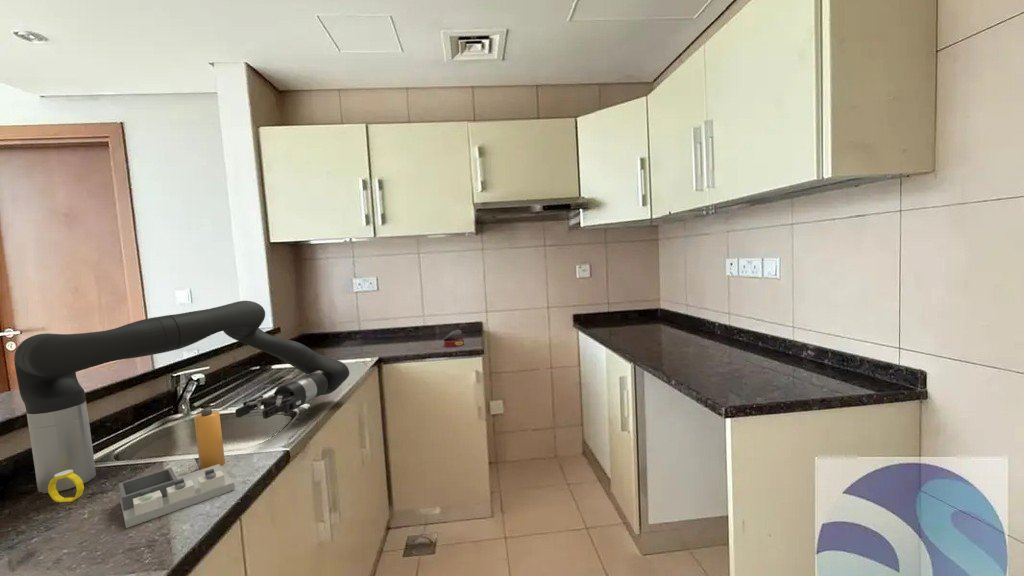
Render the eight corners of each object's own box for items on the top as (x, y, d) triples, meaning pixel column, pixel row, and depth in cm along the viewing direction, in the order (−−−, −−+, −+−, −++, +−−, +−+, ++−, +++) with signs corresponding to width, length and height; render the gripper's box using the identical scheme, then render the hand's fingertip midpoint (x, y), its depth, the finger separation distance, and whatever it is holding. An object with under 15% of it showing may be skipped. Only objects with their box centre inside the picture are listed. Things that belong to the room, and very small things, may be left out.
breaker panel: (120, 502, 90) (117, 480, 90) (219, 470, 102) (217, 450, 102) (126, 528, 81) (122, 503, 81) (234, 489, 93) (232, 468, 92)
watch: (47, 506, 91) (40, 478, 91) (60, 499, 94) (54, 471, 93) (77, 502, 91) (71, 474, 91) (89, 495, 94) (83, 467, 93)
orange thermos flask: (198, 466, 105) (191, 410, 104) (222, 458, 108) (216, 404, 107) (202, 472, 101) (195, 414, 100) (227, 464, 105) (220, 408, 104)
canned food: (449, 356, 225) (438, 340, 223) (449, 350, 235) (439, 334, 233) (468, 344, 225) (457, 328, 223) (468, 339, 235) (458, 323, 233)
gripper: (274, 380, 132) (226, 399, 117) (315, 381, 128) (271, 400, 113) (277, 405, 133) (229, 427, 117) (318, 407, 129) (274, 429, 114)
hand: (250, 414), depth 115 cm, fingers open, 8 cm apart
